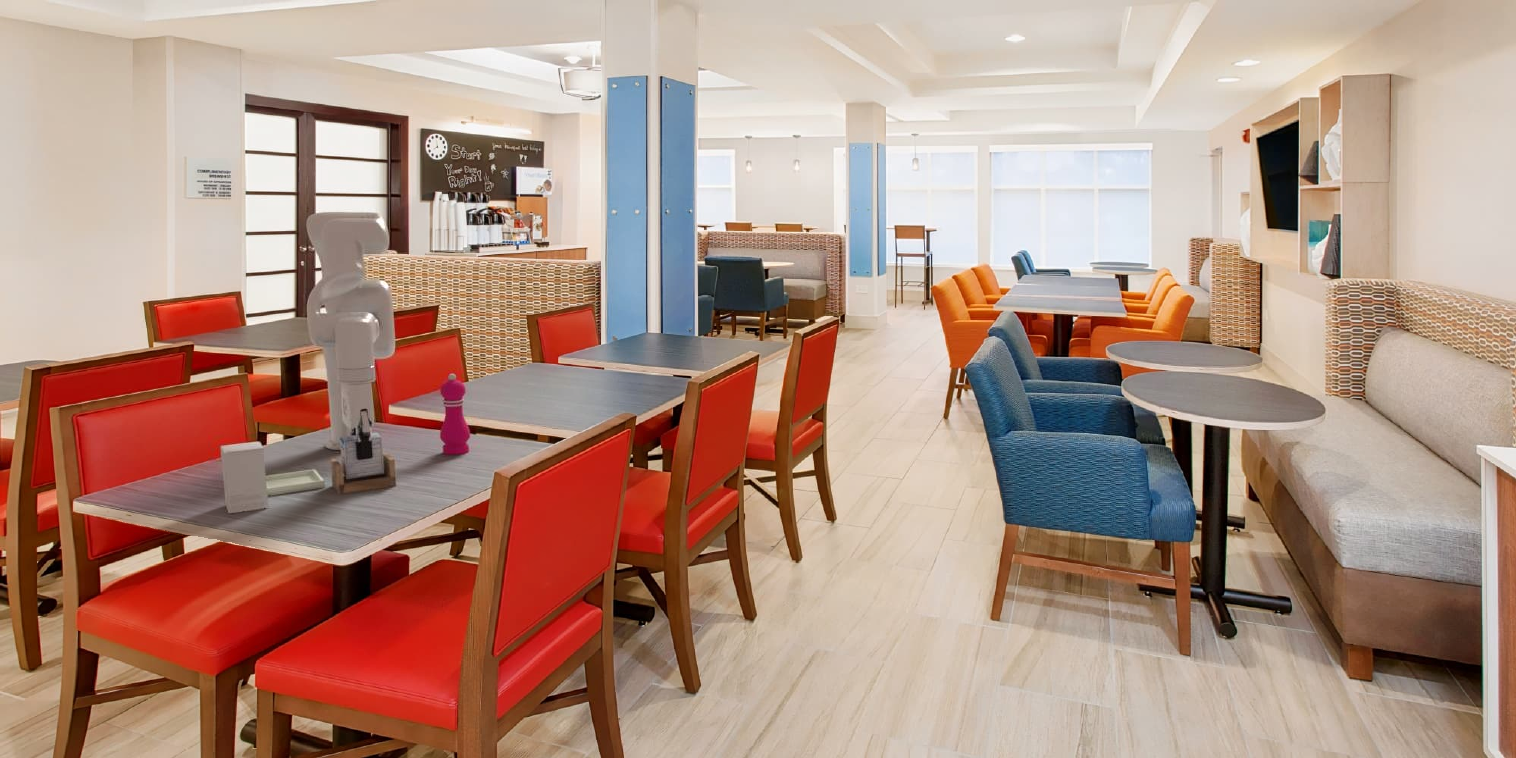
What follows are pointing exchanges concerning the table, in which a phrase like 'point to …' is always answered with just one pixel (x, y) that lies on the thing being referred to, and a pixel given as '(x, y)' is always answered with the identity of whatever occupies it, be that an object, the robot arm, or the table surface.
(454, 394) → the pepper mill
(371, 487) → the holder
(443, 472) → the table surface
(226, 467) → the supplement box
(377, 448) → the medicine box
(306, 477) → the tray
